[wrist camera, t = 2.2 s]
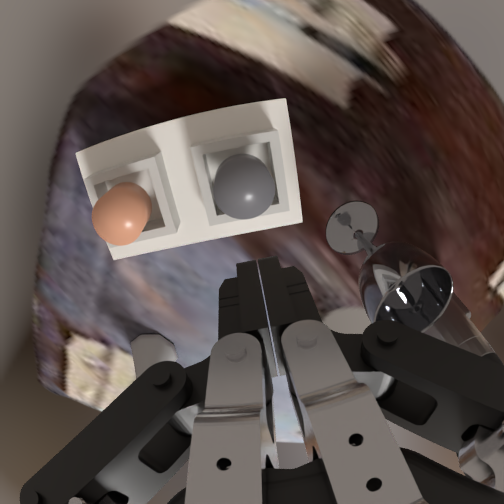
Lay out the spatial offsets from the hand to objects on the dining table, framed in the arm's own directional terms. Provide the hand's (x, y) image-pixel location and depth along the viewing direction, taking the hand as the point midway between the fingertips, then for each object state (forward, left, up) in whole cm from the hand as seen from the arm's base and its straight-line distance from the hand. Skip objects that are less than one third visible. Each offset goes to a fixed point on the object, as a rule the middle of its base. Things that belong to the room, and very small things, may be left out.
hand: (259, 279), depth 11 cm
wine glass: (-12, +10, -21) cm, 26 cm away
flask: (+18, +24, -21) cm, 36 cm away
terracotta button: (+10, 0, -14) cm, 17 cm away
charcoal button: (0, 0, -14) cm, 14 cm away
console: (+5, 0, -21) cm, 21 cm away
